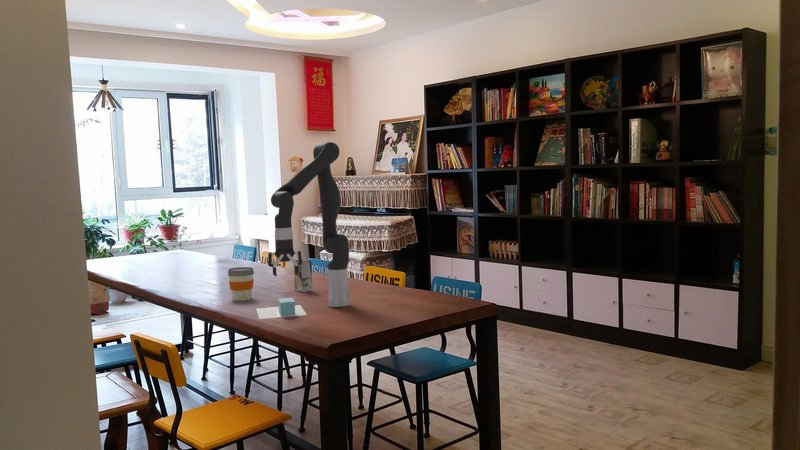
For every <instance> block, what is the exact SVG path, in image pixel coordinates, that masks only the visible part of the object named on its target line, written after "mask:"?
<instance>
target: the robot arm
mask: <svg viewBox="0 0 800 450" xmlns="http://www.w3.org/2000/svg"><path fill="white" fill-rule="evenodd" d="M312 154H313V160H312V161H311V162H310V163H308V164H306V165H305V166H304V167H302V168H301V169H300V170H298V171H297V172H296V173H295V174H294V175H293V176H292V177H291V178H290V179H289V180H288V182H286V183H285V184H283V185H282V186H281V187H279V188H278V189H276V190H275V191H274V192H273V194H272V195H271V197H270V203H271V205H272V206H273V207H274V208H276V209H278V214H275V215H274V243H275V244H274V245H275V248H274V249H275V251H274V252H271V251H269V252H268V255H267V266H268V267H270V268H272V275H273V276H274V277H277V267H278V265H279V263H280V262H281V263H284V262H290V261H291V262H292V263H293V274H295V275H297V273H298V265H300V264H302V260H303V259H302V252H301V250H295V251H294V237H293V236H294V235H293V234H294V233H293V227H292V215H293V209H294V205H295V204H294V196H297V195H299V194H301V192H302V191H303V190H304V189H305V188H306V187H307V186H308V185H309V184H310V183H311V182H312V181H313V180H314V179H315V178H316V177H317V182H318V190H319V192H318V193H319V202H320V209H321V220H322V222H321V223H322V247H323V249H324V251H325V252H327V253H328V254H332V259H331V260H330V261H328V262H327V263H326V264H327V265H326V266H327V268H326V269H327V270H326V271H327V299H328V300H327V301H328V302H327V303H328V307H332V308H343V307H348V306H349V307H350V286H349V281H348V275H349V274H348V264H349V261H350V242H349V238H348V237H347V236H346V235H345V234H342V233H338V231H337V230H338V229H337V220H338V219H337V218H338V216H339V213H340V210H341V205H342V203H341V202H342V201H341V194H340V188H339V186H338V184H337V183H336V181H335V178H334V176H333V173H332V171H331V170H332V169H331V164H333V163H334V162H335V161H336V160H337V159H338V158H339V157H340V148H339V146H338V145H337V144H336V143H335V142H332V141H326V142H325V141H324V142H318V143H317V144H315V145H314V147H313V151H312ZM295 255H296V257H297V260H298V262H297V263H296V261H295V259H294V258H293V257H294V256H295ZM274 256H275V257H276V259H275V261H274V262H273V263H272V258H274ZM294 265H295V266H294Z"/></svg>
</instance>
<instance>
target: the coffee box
mask: <svg viewBox="0 0 800 450" xmlns="http://www.w3.org/2000/svg"><path fill="white" fill-rule="evenodd" d="M294 260H295V259H294ZM295 261H296V263H297V262H298V259H296V260H295ZM294 266H295V265H294V264H293V267H294ZM312 273H313V270H312V260H309V259H304V258H303V259H302V264H300V265H298V273H297V275H295V274H294V273H293V274H294V275H293V276H294V277H293V278H294V291H297V292H301V293H307V292H313V274H312Z"/></svg>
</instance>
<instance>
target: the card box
mask: <svg viewBox="0 0 800 450" xmlns="http://www.w3.org/2000/svg"><path fill="white" fill-rule="evenodd" d="M295 305H296V302H295V299H294V298H293V297H286V298H282V297H281V298H278V307H279V313H280V315H281V317H280V318H283V317H282V316H290V317H295V316H294V315H295Z"/></svg>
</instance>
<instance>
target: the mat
mask: <svg viewBox="0 0 800 450" xmlns="http://www.w3.org/2000/svg"><path fill="white" fill-rule="evenodd" d="M255 309H256V312H257V316H258V319H259V320H263V319H264V320H265V319H277V318H287V317H291V316H282V317H281V315H280V313H279V306H272V307H261V308H259V307H258V308H255ZM307 315H308V314H307V312H305V309H304V308H303V307H302V305H301V304H295V315H294V316H293V317H299V316H300V317H301V316H307Z"/></svg>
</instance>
